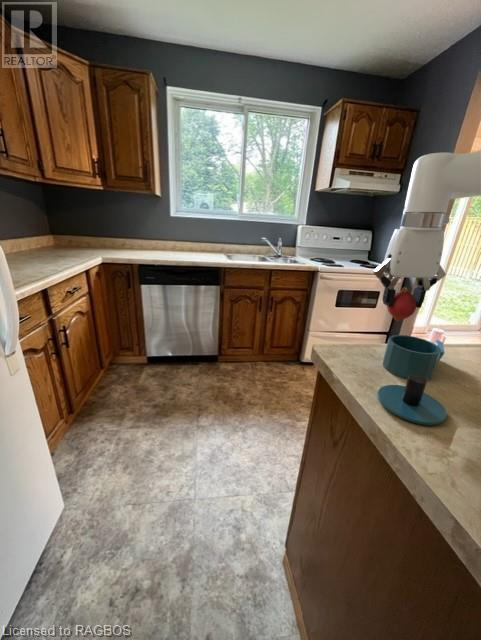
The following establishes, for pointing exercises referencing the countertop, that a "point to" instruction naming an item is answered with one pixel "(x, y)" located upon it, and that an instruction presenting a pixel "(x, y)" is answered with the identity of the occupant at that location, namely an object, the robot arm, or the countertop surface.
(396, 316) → the onion
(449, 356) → the countertop surface
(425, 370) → the pot
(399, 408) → the lid
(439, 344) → the yogurt
